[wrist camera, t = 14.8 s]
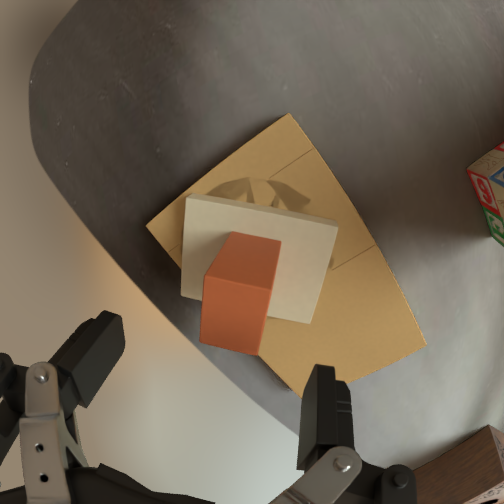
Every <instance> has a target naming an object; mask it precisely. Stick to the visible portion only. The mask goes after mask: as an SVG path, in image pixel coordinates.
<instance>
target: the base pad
mask: <svg viewBox="0 0 504 504" xmlns="http://www.w3.org/2000/svg"><path fill="white" fill-rule="evenodd" d="M192 193H196V194H202V195H208V196H214V197H220V198H225V199H231V200H236V201H242V202H247V203H252V204H258V205H263V206H268V207H273V208H278V209H283V210H288V211H293V212H298V213H303V214H307V215H312V216H317V217H321V218H326V219H330V220H335V221H337V224H338V231H337V235H336V239H335V243H334V246H333V250H332V253H331V257H330V260H329V264H328V267H327V271H326V274H325V278H324V281H323V284H322V287H321V291H320V294H319V297H318V300H317V304H316V307H315V310H314V313H313V316H312V319H311V322H310V324H306V323H301V322H296V321H291V320H286V319H281V318H276V317H271V316H267V317H266V321H265V326H264V330H263V334H262V339H261V343H260V348H259V352H258V355H259V356H260V357H261V358H262V359H263V360H264V361H265V363H266V364H267V365H268V366H269V367H270V368H271V369H272V370H273V371H274V372H275V373H276V374H277V375H278V376H279V377H280V378H281V379H282V380H283V381H284V382H285V383H286V384H287V385H288V386H289V387H290V388H291V389H292V390H293V391H294V392H295V393H296V394H297V395H298V396H299V397H300V398H301V399H302V396H303V391H304V388H305V386H306V383H307V381H308V379H309V377H310V374H311V372H312V370H313V367H314V365H315V364H322V365H328V366H334V367H335V375H336V380H341V381H345V383H346V384H347V383H350V382H352V381H354V380H357V379H359V378H361V377H364V376H366V375H368V374H370V373H373V372H375V371H377V370H379V369H381V368H383V367H386V366H388V365H390V364H392V363H394V362H396V361H398V360H400V359H402V358H404V357H406V356H408V355H410V354H412V353H413V352H415V351H417V350H419V349H421V348H423V347H425V346H426V345H427V344H426V342H425V339H424V337H423V334H422V332H421V330H420V328H419V326H418V323H417V321H416V319H415V317H414V315H413V313H412V311H411V309H410V307H409V304H408V302H407V300H406V298H405V296H404V294H403V292H402V290H401V288H400V286H399V285H398V283H397V281H396V279H395V277H394V275H393V273H392V271H391V269H390V267H389V266H388V264H387V262H386V260H385V258H384V256H383V255H382V253H381V251H380V249H379V247H378V246H377V244H376V242H375V240H374V239H373V237H372V235H371V233H370V232H369V230H368V228H367V227H366V225H365V223H364V222H363V220H362V218H361V217H360V215H359V213H358V212H357V210H356V208H355V207H354V205H353V204H352V202H351V200H350V199H349V197H348V196H347V194H346V193H345V191H344V189H343V188H342V186H341V185H340V183H339V182H338V180H337V179H336V177H335V176H334V174H333V173H332V171H331V170H330V168H329V167H328V165H327V164H326V162H325V161H324V160H323V158H322V157H321V155H320V154H319V152H318V151H317V149H316V148H315V147H314V146H313V144H312V142H311V141H310V140H309V138H308V137H307V136H306V134H305V133H304V131H303V130H302V129H301V127H300V126H299V125H298V123H297V122H296V121H295V119H294V118H293V117H292V115H291V114H290V113H287V114H286V115H284V116H283V117H282V118H280V119H279V120H277V121H276V122H274V123H273V124H272V125H270V126H269V127H267V128H266V129H265V130H263V131H262V132H260V133H259V134H258V135H256V136H255V137H254V138H252V139H251V140H249V141H248V142H247V143H245V144H244V145H243V146H241V147H240V148H239V149H237V150H236V151H235V152H234V153H232V154H231V155H230V156H228V157H227V158H226V159H224V160H223V161H222V162H221V163H219V164H218V165H217V166H215V167H214V168H213V169H212V170H210V171H209V172H208V173H207V174H205V175H204V176H203V177H202V178H201V179H199V180H198V181H197V182H196V183H194V184H193V185H192V186H191V187H190V188H188V189H187V190H186V191H185V192H184V193H182V194H181V195H180V196H179V197H178V198H176V199H175V200H174V201H173V202H172V203H171V204H169V205H168V206H167V207H166V208H165V209H164V210H162V211H161V212H160V213H159V214H158V215H157V216H156V217H155V218H153V219H152V220H151V221H150V222H149V223H148V224H147V225H146V227H147V228H148V229H149V231H150V232H151V233H152V234H153V236H154V237H155V238H156V239H157V241H158V242H159V243H160V244H161V246H162V247H163V248H164V249H165V250H166V252H167V253H168V254H169V255H170V256H171V258H172V259H173V260H174V261H175V262H176V264H177V265H178V266H179V267H180V268H181V270H182V251H183V233H184V217H185V204H186V197H188V196H189V195H191V194H192Z"/></svg>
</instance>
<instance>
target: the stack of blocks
mask: <svg viewBox="0 0 504 504" xmlns="http://www.w3.org/2000/svg"><path fill="white" fill-rule="evenodd" d="M466 170H467V173H468V175H469V177H470V179H471V182H472V184H473V186H474V189H475V191H476V194H477V196H478V199H479V201H480V203H481V205H482V208H483V211H484V214H485V216H486V219H487V222H488V225H489V228H490V232H491V235H492V237H493V238H494V239H495V240H496V241H497V242H498V243H500V244H501V245H502V246H503V247H504V141H503V142H502V143H501V144H499V145H498V146H496V147H495V148H494V149H493V150H491V151H489V152H488V153H486V154H485V155H484V156H482V157H481V158H480V159H478V160H477V161H475V162H474V163H473V164H471V165H470V166H469V167H468V168H467V169H466Z"/></svg>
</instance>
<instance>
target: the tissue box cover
mask: <svg viewBox="0 0 504 504" xmlns="http://www.w3.org/2000/svg"><path fill="white" fill-rule="evenodd" d="M413 473H414V475H415V477H416V488H417V504H503V503H504V433H502V432H501V431H499V430H497V429H495V428H494V427H492V426H490V425H488V426H486V427H485V428H484V429H482V430H481V431H479V432H478V433H476V434H475V435H474V436H472V437H471V438H469V439H468V440H466V441H465V442H463V443H461V444H460V445H458V446H457V447H455V448H454V449H452V450H450V451H449V452H447V453H445V454H444V455H442V456H440V457H438V458H437V459H435V460H433V461H431V462H429V463H427V464H426V465H424V466H422V467H420V468H418V469H416V470H414V471H413Z"/></svg>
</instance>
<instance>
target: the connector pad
mask: <svg viewBox="0 0 504 504" xmlns="http://www.w3.org/2000/svg"><path fill="white" fill-rule="evenodd" d="M337 231H338V224H337V221H335V220H330V219H326V218H321V217H317V216H312V215H307V214H303V213H298V212H293V211H288V210H283V209H278V208H273V207H268V206H263V205H258V204H252V203H247V202H242V201H236V200H231V199H225V198H220V197H214V196H208V195H202V194H196V193H192V194H191V195H189V196H188V197H186V204H185V217H184V233H183V251H182V274H181V296H184V297H188V298H192V299H196V300H200V301H202V307H201V322H200V339H199V341H200V342H201V343H204V344H208V345H212V346H216V347H220V348H224V349H228V350H233V351H237V352H241V353H246V354H250V355H255V356H257V355H258V352H259V348H260V343H261V339H262V334H263V330H264V326H265V321H266V317H267V316H271V317H276V318H281V319H286V320H291V321H296V322H301V323H306V324H310V322H311V319H312V316H313V313H314V310H315V307H316V304H317V300H318V297H319V294H320V291H321V287H322V284H323V281H324V278H325V274H326V271H327V267H328V264H329V260H330V257H331V253H332V250H333V246H334V243H335V239H336V235H337Z"/></svg>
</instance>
